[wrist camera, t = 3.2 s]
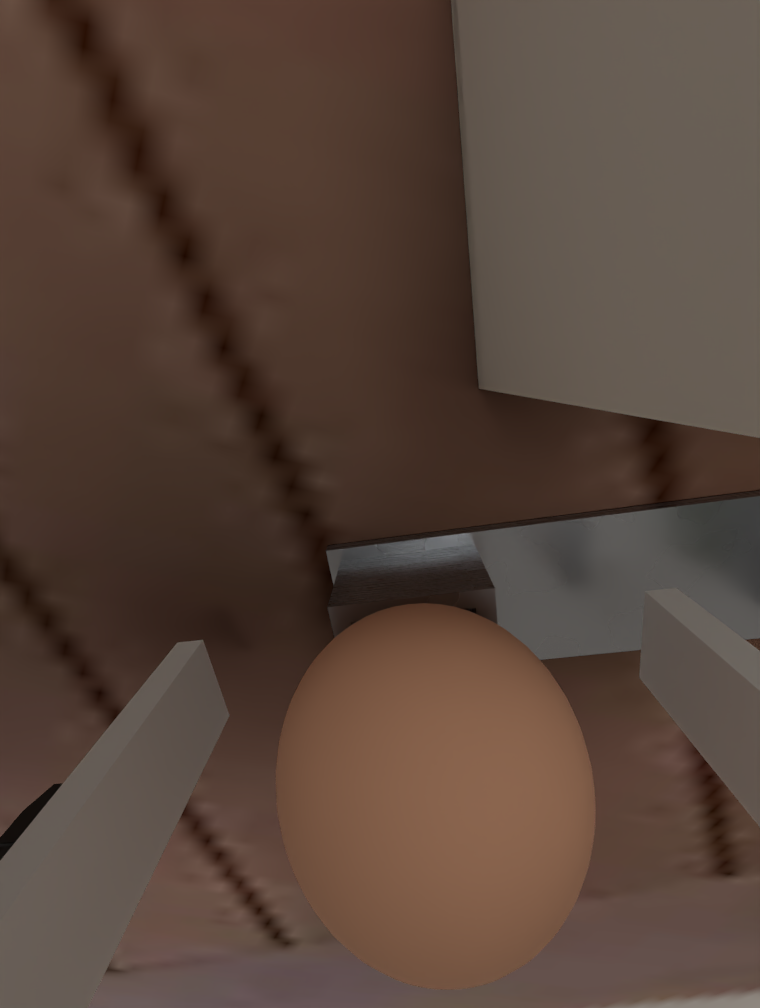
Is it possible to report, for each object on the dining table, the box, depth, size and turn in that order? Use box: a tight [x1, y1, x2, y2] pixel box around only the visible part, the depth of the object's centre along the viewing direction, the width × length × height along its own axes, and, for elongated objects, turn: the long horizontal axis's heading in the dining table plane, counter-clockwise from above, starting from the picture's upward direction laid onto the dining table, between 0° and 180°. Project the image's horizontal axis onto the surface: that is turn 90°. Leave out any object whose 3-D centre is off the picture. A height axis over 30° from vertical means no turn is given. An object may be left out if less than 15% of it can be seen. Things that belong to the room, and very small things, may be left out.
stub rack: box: [326, 490, 760, 660], centre depth 11 cm, size 5×19×3 cm, turn 99°
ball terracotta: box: [275, 603, 595, 990], centre depth 8 cm, size 6×6×6 cm
